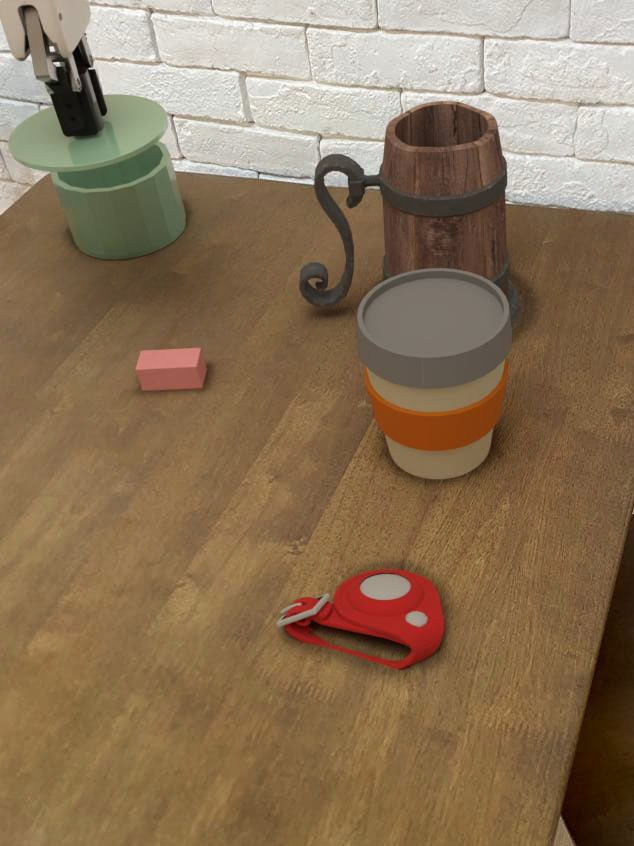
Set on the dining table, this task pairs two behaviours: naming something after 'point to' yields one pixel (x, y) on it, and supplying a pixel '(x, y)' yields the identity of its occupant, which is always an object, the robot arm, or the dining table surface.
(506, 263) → the tankard
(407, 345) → the reusable coffee cup
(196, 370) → the eraser
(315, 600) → the tracker holder
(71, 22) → the robot arm
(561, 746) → the dining table surface
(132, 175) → the pot
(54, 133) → the lid
